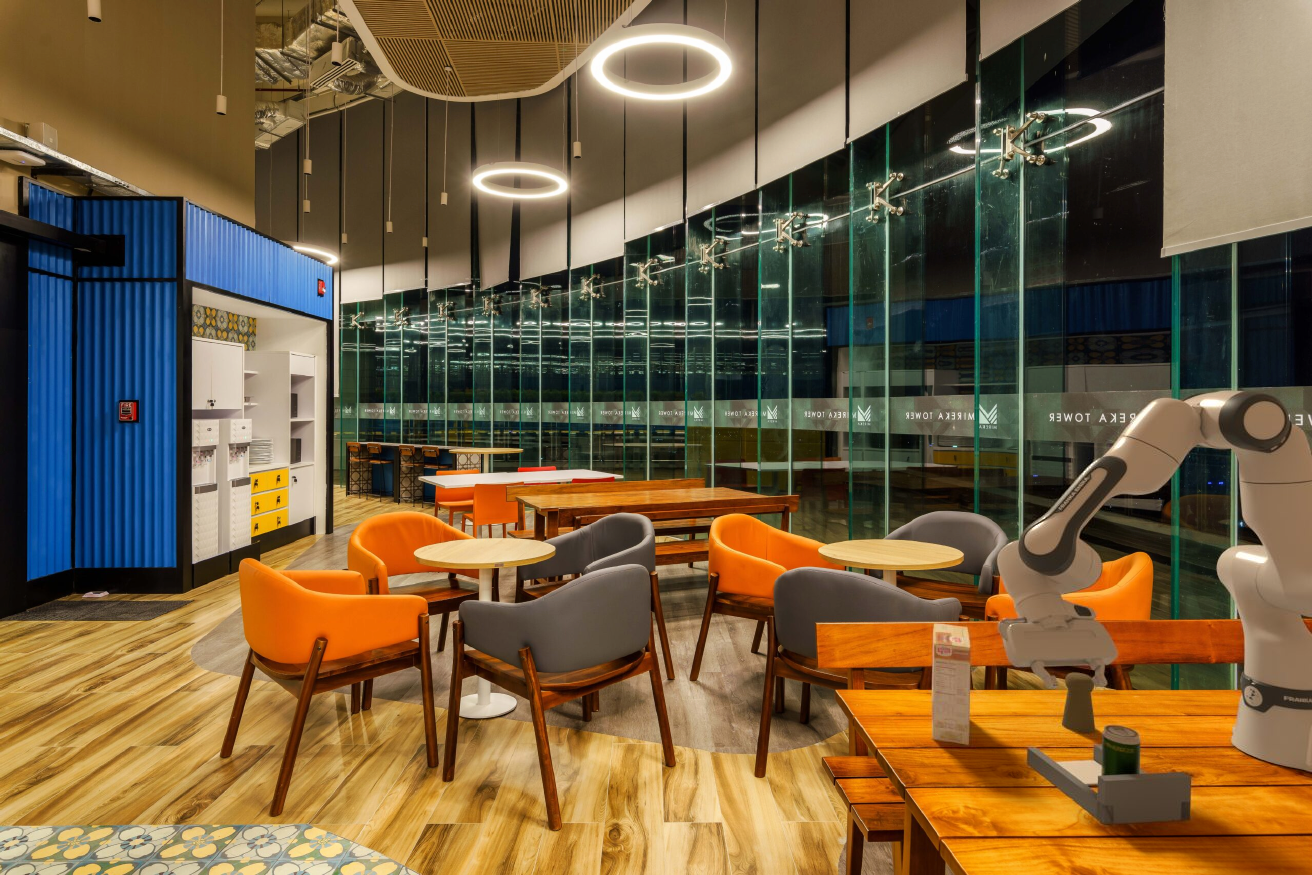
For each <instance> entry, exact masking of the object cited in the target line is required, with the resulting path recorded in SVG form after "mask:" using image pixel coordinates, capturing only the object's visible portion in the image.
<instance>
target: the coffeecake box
mask: <svg viewBox="0 0 1312 875" xmlns="http://www.w3.org/2000/svg"><path fill="white" fill-rule="evenodd" d="M971 647H972V646H971V641H970V634H969V630H968V626H960V625H952V624H946V623H933V631H932V656H931V657H932V664H931V666H932V667H931V670H932V671H931V672H932V673H931V733H932V734H931V736H932V737H931V738H932V740H934V741H940V742H947V743H955V744H960V745H966V746H969V745H970V718H971V716H970V714H971V713H970V711H971V710H970V708H971V704H970V703H971V655H972V654H971V649H972V648H971Z"/></svg>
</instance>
